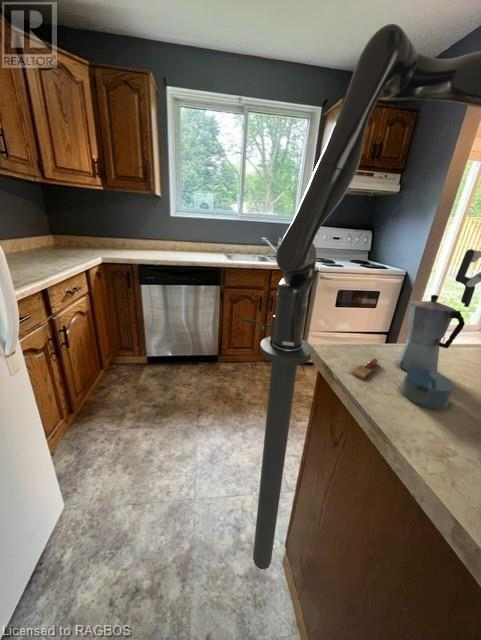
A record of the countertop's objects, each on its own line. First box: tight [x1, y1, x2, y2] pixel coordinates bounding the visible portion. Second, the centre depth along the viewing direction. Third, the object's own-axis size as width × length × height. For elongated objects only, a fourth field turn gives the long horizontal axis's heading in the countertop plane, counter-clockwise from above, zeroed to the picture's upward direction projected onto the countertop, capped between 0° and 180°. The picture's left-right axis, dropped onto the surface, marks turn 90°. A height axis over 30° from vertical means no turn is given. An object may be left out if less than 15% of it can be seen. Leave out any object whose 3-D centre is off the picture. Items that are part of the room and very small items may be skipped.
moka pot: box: [397, 294, 466, 372], centre depth 69 cm, size 10×15×20 cm, turn 15°
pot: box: [400, 368, 455, 410], centre depth 60 cm, size 9×12×4 cm
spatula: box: [351, 357, 378, 379], centre depth 71 cm, size 11×3×1 cm, turn 133°
